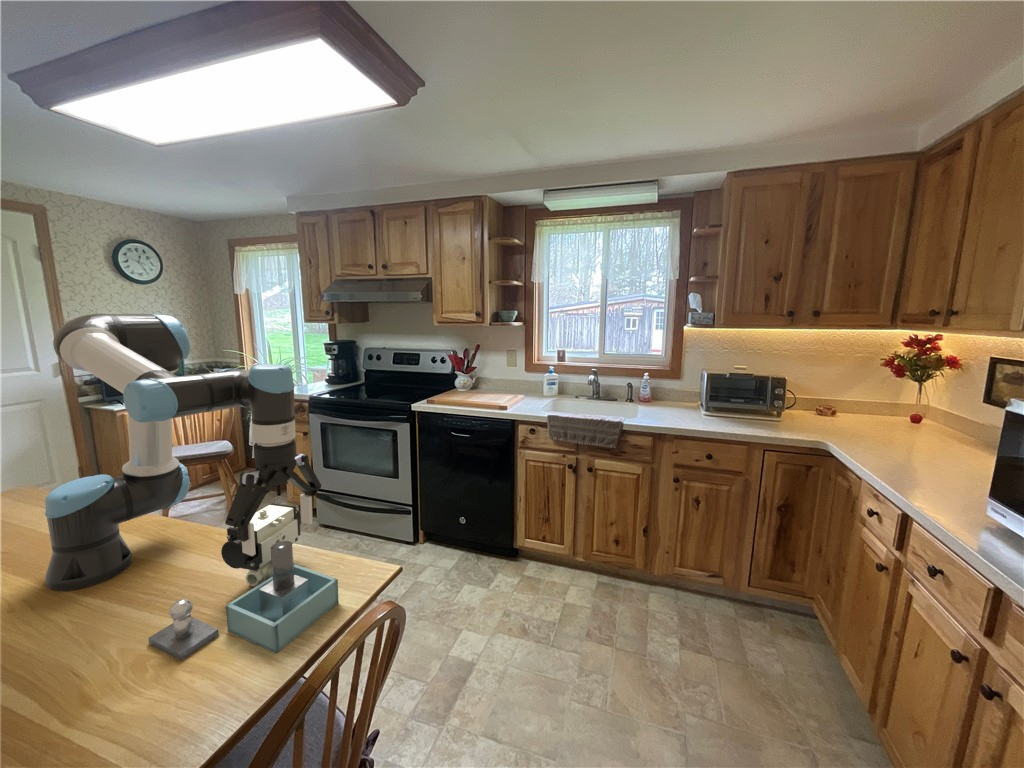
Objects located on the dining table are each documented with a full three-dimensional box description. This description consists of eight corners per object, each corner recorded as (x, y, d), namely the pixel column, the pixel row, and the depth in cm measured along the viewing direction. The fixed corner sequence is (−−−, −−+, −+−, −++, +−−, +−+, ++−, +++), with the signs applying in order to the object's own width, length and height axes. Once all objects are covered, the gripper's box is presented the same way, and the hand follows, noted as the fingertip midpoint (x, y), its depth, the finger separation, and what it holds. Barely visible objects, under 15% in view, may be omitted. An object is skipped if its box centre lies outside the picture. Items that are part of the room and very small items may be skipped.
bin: (227, 631, 85) (225, 605, 84) (294, 586, 100) (293, 563, 99) (275, 654, 80) (273, 626, 79) (338, 602, 95) (337, 579, 94)
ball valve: (255, 603, 94) (249, 531, 91) (224, 597, 95) (217, 526, 92) (309, 559, 111) (305, 497, 108) (281, 554, 113) (277, 493, 110)
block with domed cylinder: (283, 628, 86) (279, 557, 83) (261, 618, 88) (255, 550, 85) (309, 607, 92) (306, 541, 89) (287, 599, 94) (283, 535, 92)
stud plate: (149, 644, 81) (144, 604, 80) (188, 620, 88) (184, 583, 86) (180, 661, 78) (176, 620, 76) (218, 635, 84) (215, 597, 83)
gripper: (224, 463, 71) (233, 574, 74) (336, 428, 94) (338, 515, 97) (196, 456, 74) (206, 563, 77) (311, 424, 96) (314, 508, 100)
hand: (280, 537), depth 87 cm, fingers open, 13 cm apart
